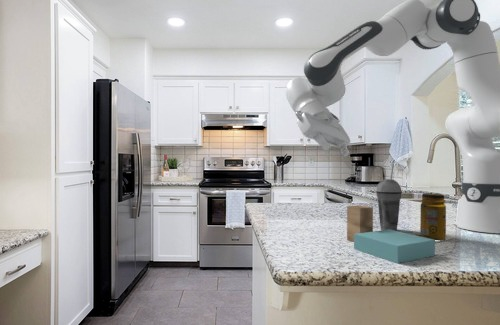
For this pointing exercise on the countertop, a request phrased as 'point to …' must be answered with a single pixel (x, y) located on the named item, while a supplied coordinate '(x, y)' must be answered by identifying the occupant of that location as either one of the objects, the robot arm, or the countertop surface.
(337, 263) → the countertop surface
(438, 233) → the condiment
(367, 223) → the walnut block
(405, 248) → the base slab
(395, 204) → the beverage cup
